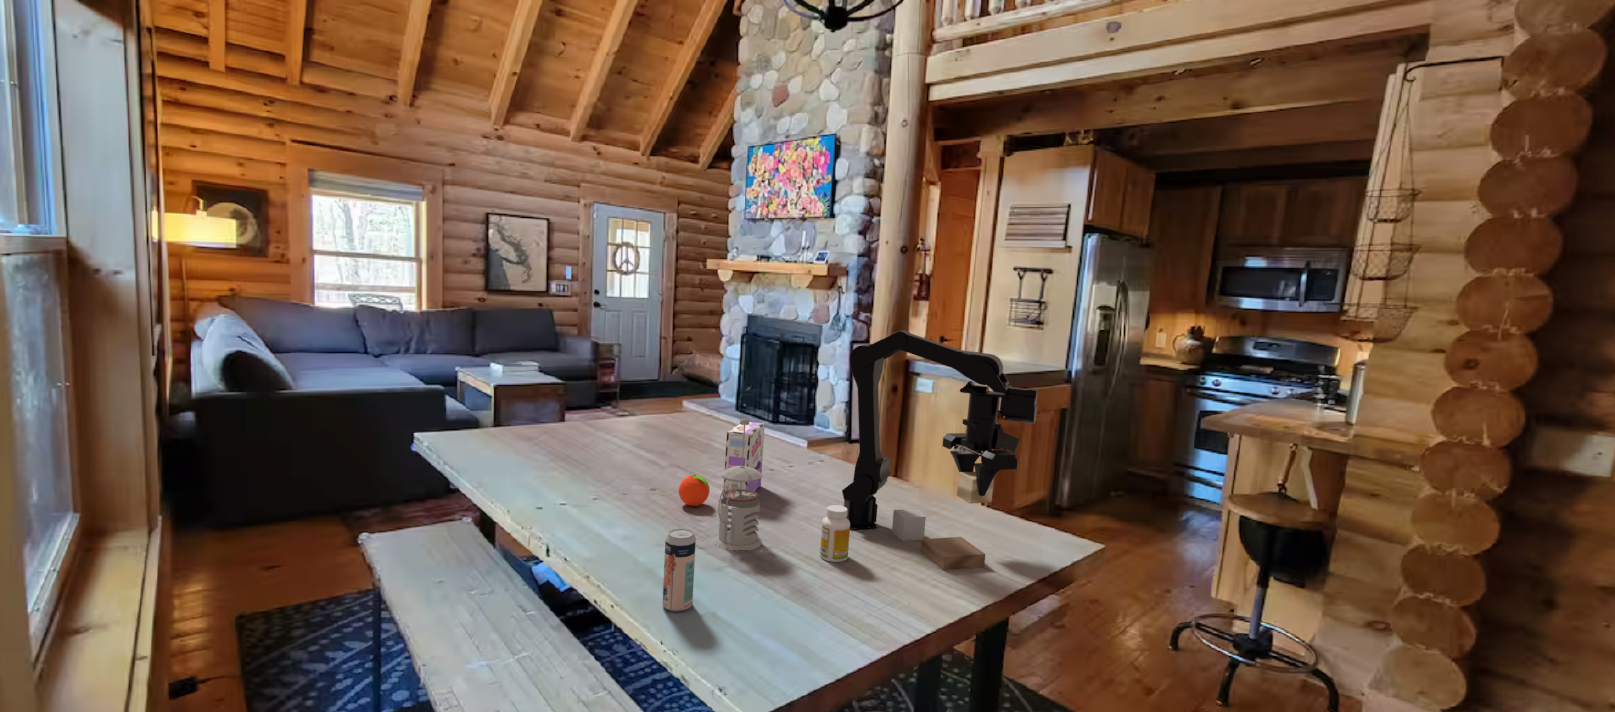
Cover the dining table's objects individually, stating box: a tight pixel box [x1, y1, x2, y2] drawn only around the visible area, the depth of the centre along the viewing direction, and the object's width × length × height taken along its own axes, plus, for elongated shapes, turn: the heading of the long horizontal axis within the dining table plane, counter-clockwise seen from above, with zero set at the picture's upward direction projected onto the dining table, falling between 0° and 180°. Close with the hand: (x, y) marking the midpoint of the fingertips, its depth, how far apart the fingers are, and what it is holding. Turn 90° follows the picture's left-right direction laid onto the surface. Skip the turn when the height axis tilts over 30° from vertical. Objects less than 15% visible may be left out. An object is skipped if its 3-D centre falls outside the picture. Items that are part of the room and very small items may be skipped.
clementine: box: [678, 474, 710, 507], centre depth 157 cm, size 8×7×7 cm
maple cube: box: [956, 471, 995, 504], centre depth 142 cm, size 5×5×5 cm
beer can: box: [662, 528, 697, 613], centre depth 110 cm, size 5×5×12 cm
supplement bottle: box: [819, 504, 851, 563], centre depth 133 cm, size 5×5×10 cm
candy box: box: [722, 421, 765, 499], centre depth 169 cm, size 14×6×16 cm, turn 168°
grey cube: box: [891, 508, 927, 542], centre depth 148 cm, size 5×5×5 cm
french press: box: [713, 418, 763, 551], centre depth 136 cm, size 10×12×25 cm
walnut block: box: [920, 536, 986, 571], centre depth 137 cm, size 9×9×3 cm
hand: (974, 491), depth 142 cm, fingers closed on maple cube, 5 cm apart
